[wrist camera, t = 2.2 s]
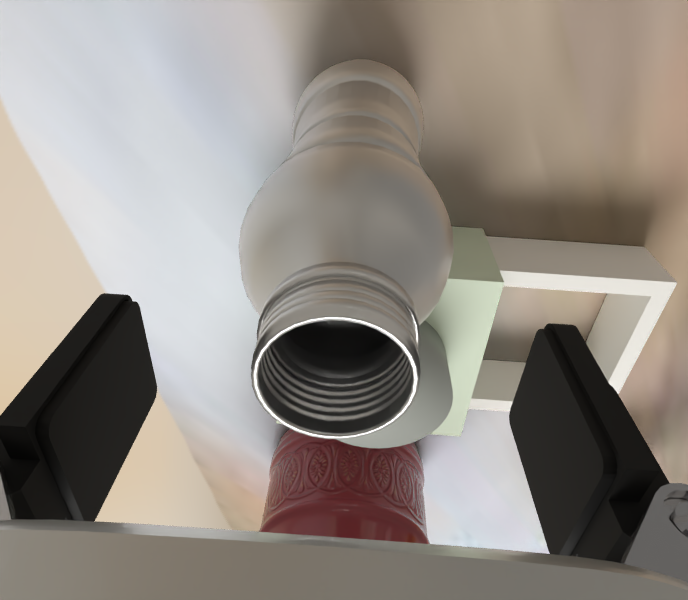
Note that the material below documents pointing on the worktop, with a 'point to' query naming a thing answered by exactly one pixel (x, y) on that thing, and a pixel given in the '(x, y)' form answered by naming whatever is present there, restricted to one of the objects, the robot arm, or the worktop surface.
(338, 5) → the worktop surface
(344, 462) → the canister
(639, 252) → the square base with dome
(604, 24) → the worktop surface
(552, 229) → the worktop surface
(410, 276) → the silver bottle
